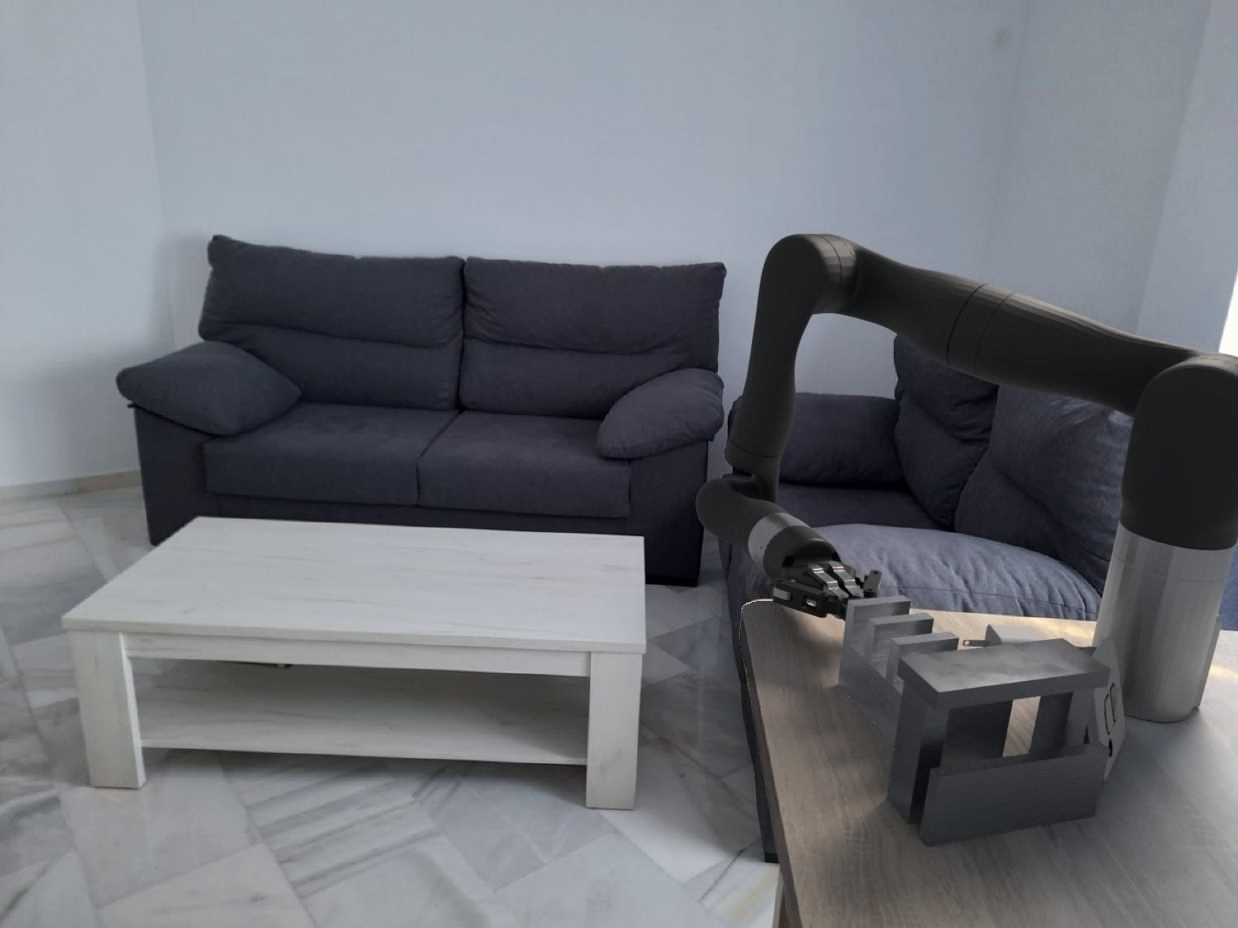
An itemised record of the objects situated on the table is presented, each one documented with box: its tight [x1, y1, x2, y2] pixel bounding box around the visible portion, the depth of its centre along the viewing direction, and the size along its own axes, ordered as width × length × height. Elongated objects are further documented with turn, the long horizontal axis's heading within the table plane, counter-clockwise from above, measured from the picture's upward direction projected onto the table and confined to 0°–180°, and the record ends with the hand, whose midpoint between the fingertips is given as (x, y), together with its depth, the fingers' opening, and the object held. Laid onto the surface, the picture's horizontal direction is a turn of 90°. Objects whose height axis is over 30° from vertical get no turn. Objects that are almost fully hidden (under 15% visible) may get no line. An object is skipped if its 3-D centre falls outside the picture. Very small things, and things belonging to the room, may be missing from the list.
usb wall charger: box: [962, 624, 1045, 648], centre depth 90 cm, size 4×7×4 cm, turn 88°
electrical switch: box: [1075, 638, 1126, 782], centre depth 76 cm, size 9×5×9 cm, turn 141°
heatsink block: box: [837, 595, 1014, 767], centre depth 78 cm, size 6×16×9 cm, turn 15°
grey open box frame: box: [886, 637, 1111, 847], centre depth 68 cm, size 15×6×12 cm, turn 105°
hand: (871, 625), depth 85 cm, fingers closed
